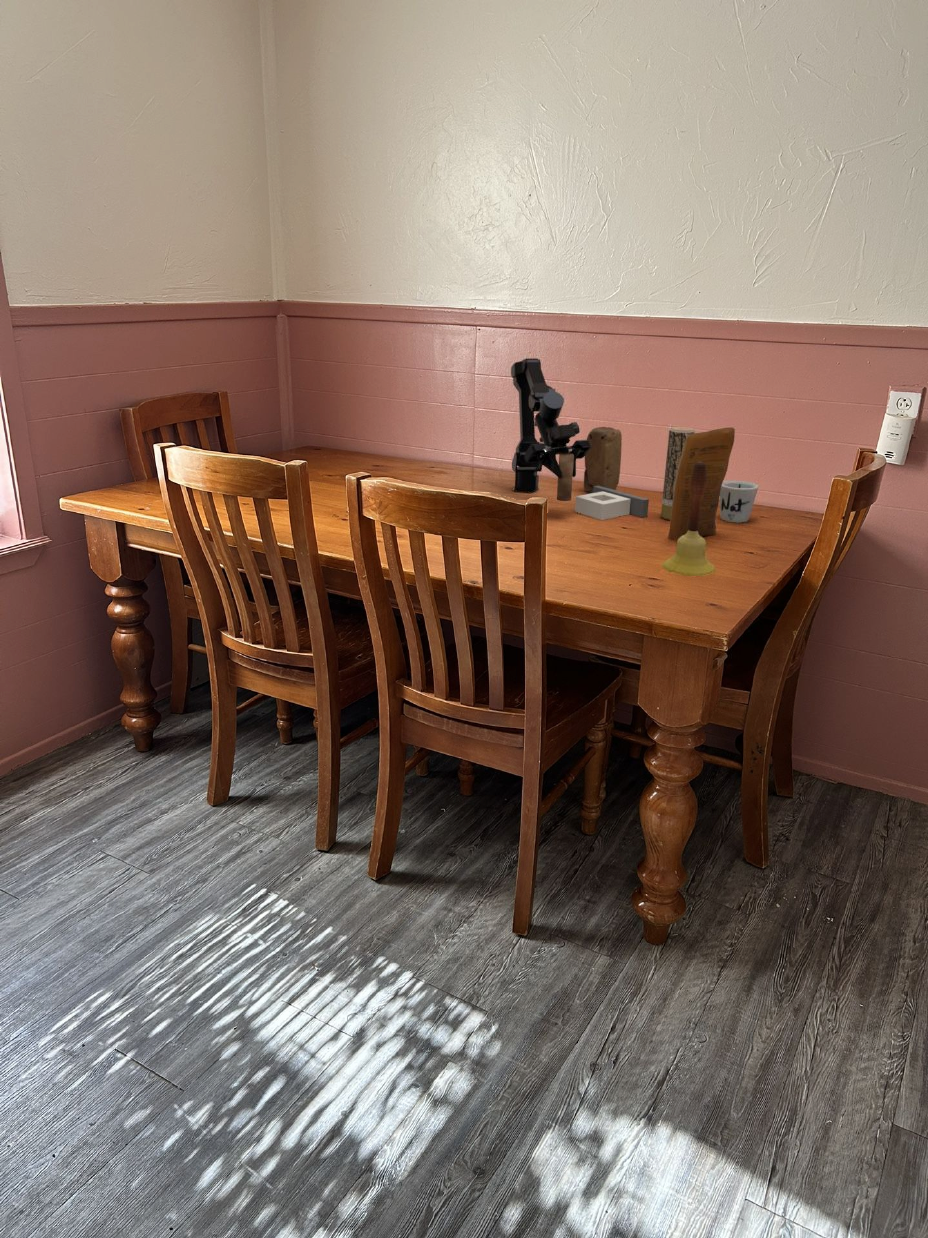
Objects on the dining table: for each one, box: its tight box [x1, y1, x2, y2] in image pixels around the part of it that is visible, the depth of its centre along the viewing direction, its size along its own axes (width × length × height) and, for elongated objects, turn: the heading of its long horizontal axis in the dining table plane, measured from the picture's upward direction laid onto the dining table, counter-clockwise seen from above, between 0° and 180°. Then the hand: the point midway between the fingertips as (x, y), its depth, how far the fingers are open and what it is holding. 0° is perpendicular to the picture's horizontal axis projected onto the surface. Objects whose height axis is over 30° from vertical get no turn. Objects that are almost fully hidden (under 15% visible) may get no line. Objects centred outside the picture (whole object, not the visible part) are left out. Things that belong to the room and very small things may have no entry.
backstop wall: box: [593, 486, 650, 518], centre depth 255 cm, size 20×2×5 cm, turn 37°
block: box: [583, 426, 623, 494], centre depth 271 cm, size 11×8×20 cm
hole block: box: [574, 491, 631, 521], centre depth 251 cm, size 11×11×4 cm
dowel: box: [556, 453, 574, 502], centre depth 242 cm, size 4×4×12 cm
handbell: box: [661, 462, 716, 577], centre depth 202 cm, size 12×12×25 cm
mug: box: [719, 480, 759, 524], centre depth 248 cm, size 10×15×10 cm
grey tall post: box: [660, 426, 696, 521], centre depth 243 cm, size 7×7×25 cm
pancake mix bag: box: [667, 427, 736, 540], centre depth 227 cm, size 7×19×28 cm, turn 118°
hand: (567, 476), depth 241 cm, fingers closed on dowel, 4 cm apart
